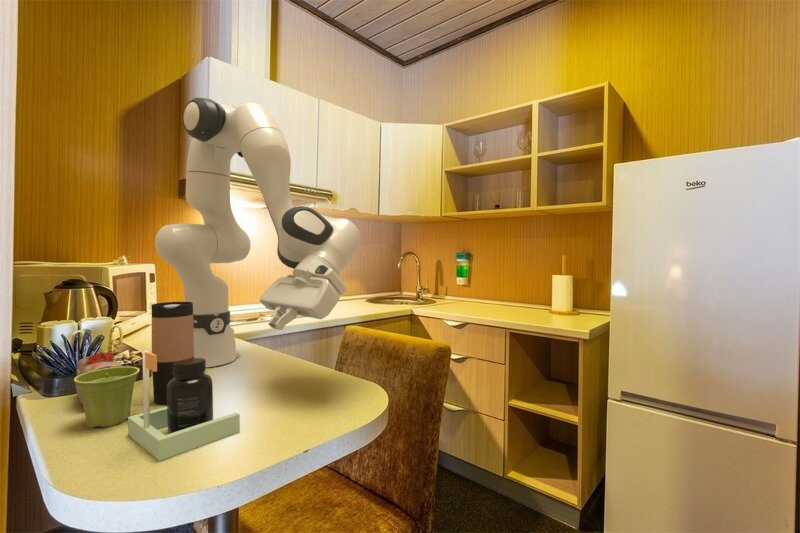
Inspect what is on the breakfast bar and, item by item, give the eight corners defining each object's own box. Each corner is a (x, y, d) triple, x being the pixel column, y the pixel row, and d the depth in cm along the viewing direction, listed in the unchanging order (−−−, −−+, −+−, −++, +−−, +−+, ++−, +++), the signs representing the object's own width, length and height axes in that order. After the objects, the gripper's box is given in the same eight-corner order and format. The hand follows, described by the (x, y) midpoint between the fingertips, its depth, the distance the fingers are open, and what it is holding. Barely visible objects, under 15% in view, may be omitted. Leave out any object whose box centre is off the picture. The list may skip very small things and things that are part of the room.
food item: (131, 403, 79) (130, 355, 79) (81, 414, 73) (80, 362, 73) (114, 388, 88) (114, 345, 88) (69, 397, 82) (68, 351, 82)
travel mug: (177, 390, 86) (176, 301, 86) (202, 395, 83) (201, 302, 83) (143, 402, 79) (142, 304, 79) (170, 407, 76) (168, 306, 76)
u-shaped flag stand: (128, 435, 64) (126, 345, 64) (203, 412, 74) (202, 333, 74) (159, 461, 56) (157, 357, 56) (239, 431, 65) (238, 343, 65)
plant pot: (149, 418, 71) (148, 371, 71) (86, 438, 63) (85, 385, 63) (127, 407, 76) (126, 363, 76) (66, 424, 69) (65, 375, 68)
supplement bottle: (221, 424, 68) (221, 356, 68) (195, 442, 62) (194, 367, 61) (187, 422, 69) (186, 355, 69) (157, 439, 63) (156, 365, 62)
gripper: (277, 265, 90) (237, 311, 83) (336, 269, 78) (295, 324, 70) (293, 284, 94) (256, 329, 87) (352, 290, 81) (314, 344, 74)
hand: (274, 327), depth 78 cm, fingers closed
